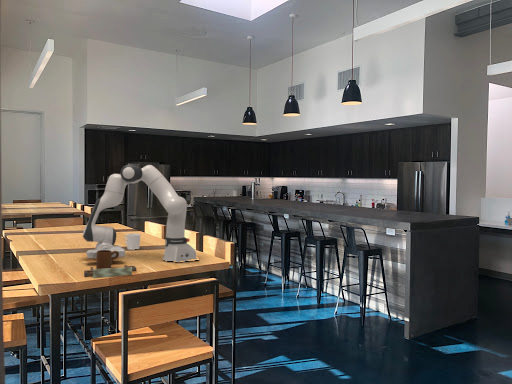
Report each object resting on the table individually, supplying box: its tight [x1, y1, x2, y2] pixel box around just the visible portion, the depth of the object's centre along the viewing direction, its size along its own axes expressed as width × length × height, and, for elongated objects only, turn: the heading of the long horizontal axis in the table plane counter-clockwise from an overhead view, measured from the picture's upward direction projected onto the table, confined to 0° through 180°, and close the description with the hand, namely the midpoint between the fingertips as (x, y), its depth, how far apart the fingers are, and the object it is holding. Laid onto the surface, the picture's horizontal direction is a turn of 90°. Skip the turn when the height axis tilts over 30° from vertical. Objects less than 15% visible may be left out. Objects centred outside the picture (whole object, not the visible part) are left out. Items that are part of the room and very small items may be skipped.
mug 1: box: [95, 250, 119, 269], centre depth 223 cm, size 12×8×9 cm, turn 131°
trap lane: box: [83, 264, 137, 279], centre depth 212 cm, size 26×17×4 cm, turn 116°
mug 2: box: [124, 232, 142, 251], centre depth 283 cm, size 11×9×10 cm
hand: (107, 255), depth 226 cm, fingers closed
